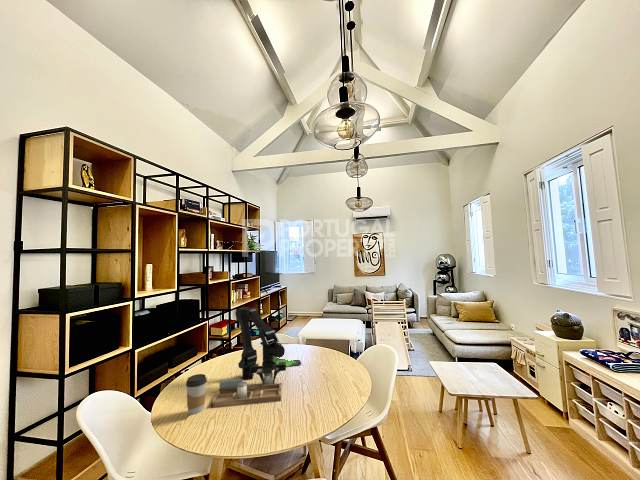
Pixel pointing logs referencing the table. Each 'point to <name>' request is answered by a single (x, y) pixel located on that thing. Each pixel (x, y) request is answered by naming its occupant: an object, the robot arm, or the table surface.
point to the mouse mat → (287, 362)
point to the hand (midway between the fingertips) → (268, 384)
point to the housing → (253, 395)
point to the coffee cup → (196, 393)
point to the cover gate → (229, 383)
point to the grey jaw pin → (268, 378)
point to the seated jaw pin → (242, 390)
